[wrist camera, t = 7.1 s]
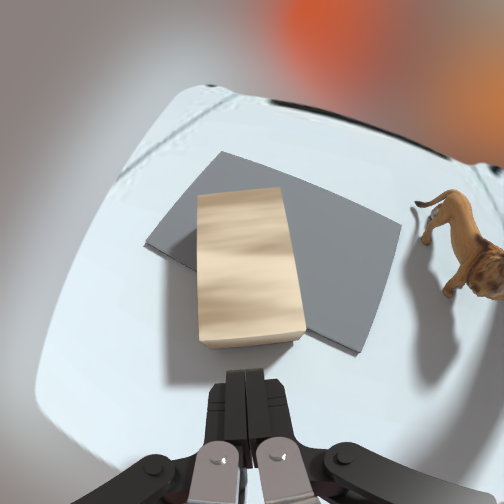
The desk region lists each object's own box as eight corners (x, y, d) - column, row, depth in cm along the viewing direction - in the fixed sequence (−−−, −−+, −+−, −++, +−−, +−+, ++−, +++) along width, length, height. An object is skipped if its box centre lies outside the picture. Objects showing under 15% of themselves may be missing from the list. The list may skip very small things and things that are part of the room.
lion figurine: (483, 308, 21) (538, 275, 13) (456, 329, 20) (518, 298, 12) (426, 200, 27) (459, 147, 19) (395, 209, 27) (429, 150, 19)
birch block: (210, 348, 20) (205, 221, 26) (298, 340, 21) (277, 214, 26) (199, 340, 17) (197, 195, 23) (306, 330, 17) (280, 187, 23)
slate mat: (222, 153, 31) (221, 151, 31) (400, 227, 26) (401, 225, 25) (146, 243, 26) (145, 241, 25) (359, 352, 20) (360, 352, 20)
